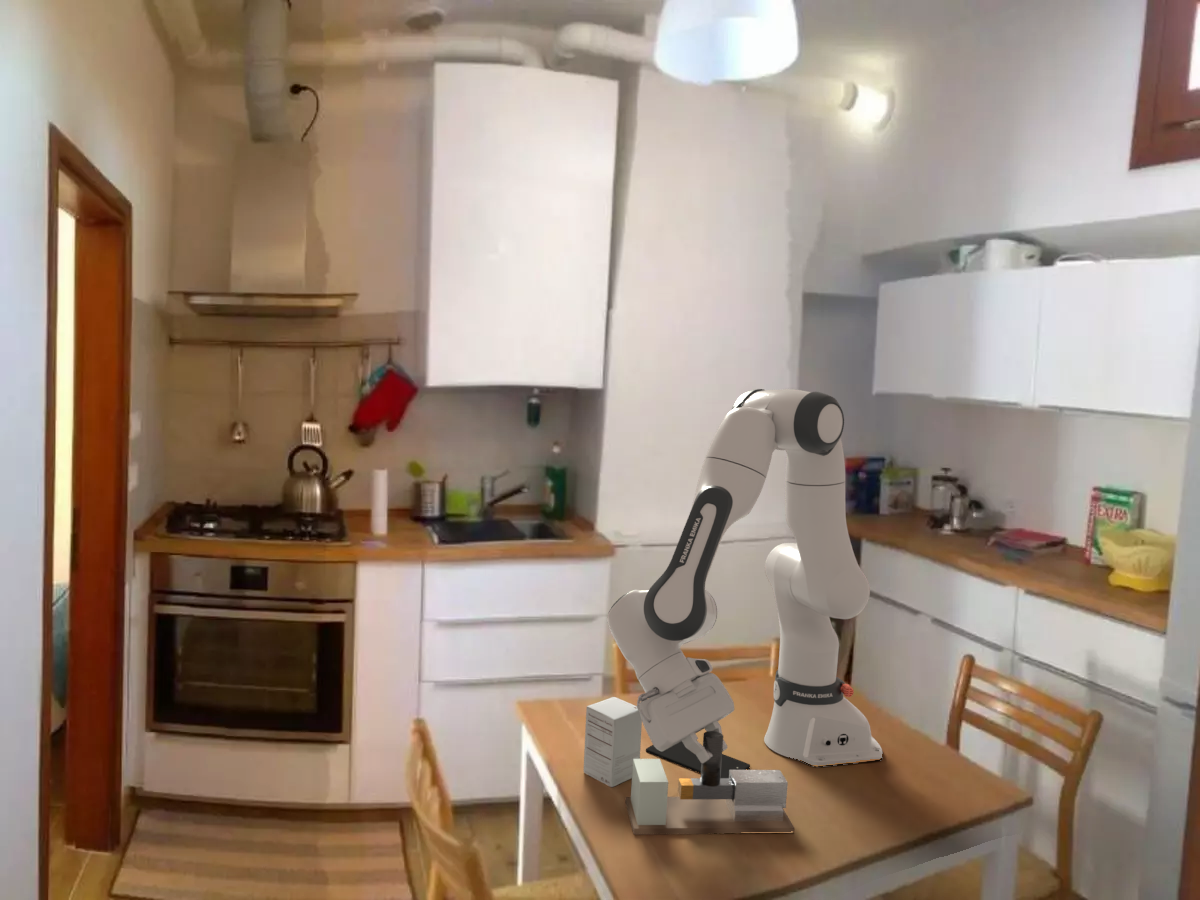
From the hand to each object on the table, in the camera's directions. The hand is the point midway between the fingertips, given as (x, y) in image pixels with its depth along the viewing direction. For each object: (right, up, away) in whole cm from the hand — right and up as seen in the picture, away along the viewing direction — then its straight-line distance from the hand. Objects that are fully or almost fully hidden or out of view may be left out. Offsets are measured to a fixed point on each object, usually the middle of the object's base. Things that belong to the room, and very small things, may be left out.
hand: (715, 755), depth 150 cm
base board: (-1, -11, +2) cm, 11 cm away
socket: (-11, -9, 0) cm, 14 cm away
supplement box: (-17, -8, +15) cm, 24 cm away
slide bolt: (+2, -7, +2) cm, 7 cm away
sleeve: (+7, -10, +2) cm, 12 cm away
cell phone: (-1, -9, +23) cm, 24 cm away
